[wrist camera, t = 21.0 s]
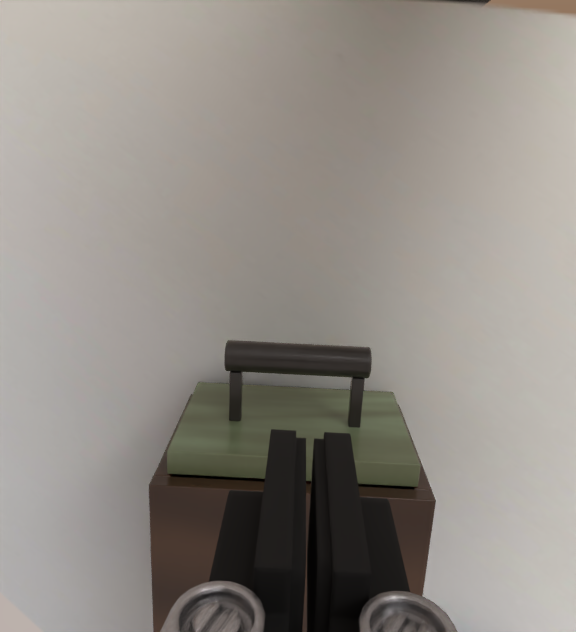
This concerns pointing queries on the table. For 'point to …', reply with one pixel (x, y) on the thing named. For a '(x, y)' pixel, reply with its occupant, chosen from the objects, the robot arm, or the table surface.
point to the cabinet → (206, 518)
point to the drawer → (292, 416)
